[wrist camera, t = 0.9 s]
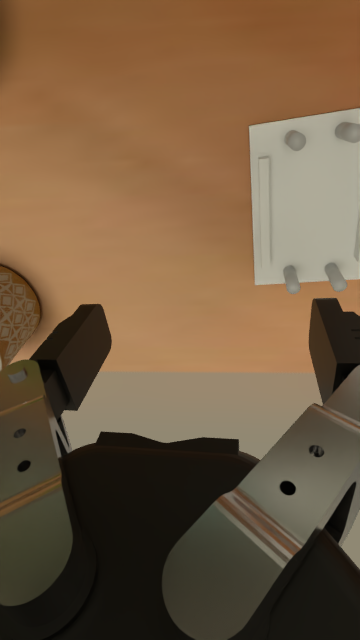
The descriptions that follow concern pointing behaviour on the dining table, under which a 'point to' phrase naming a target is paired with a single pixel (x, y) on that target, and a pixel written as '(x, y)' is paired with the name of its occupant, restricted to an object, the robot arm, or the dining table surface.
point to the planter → (15, 314)
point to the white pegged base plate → (306, 199)
